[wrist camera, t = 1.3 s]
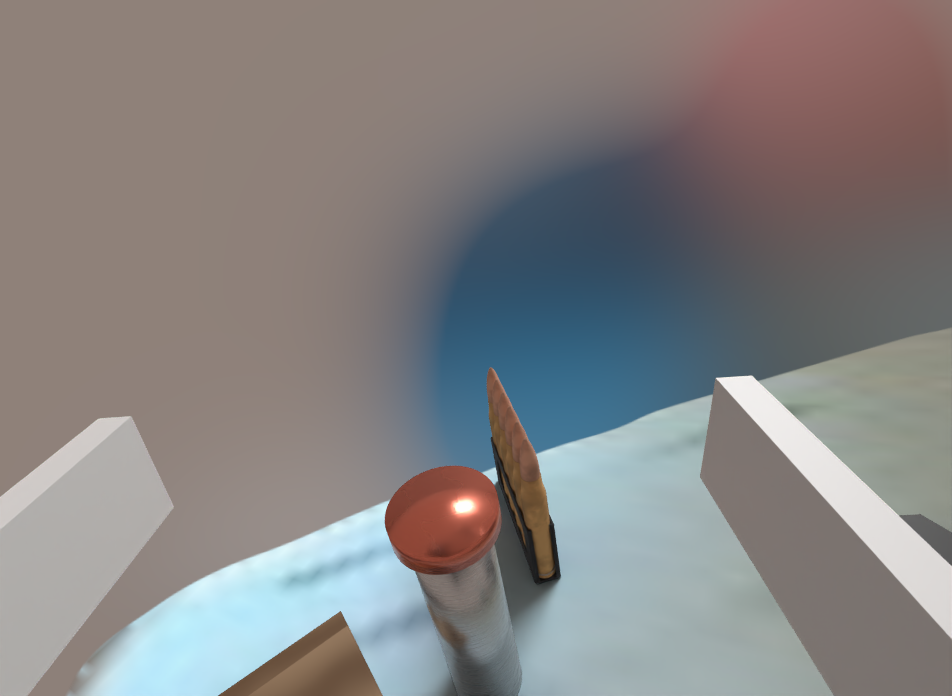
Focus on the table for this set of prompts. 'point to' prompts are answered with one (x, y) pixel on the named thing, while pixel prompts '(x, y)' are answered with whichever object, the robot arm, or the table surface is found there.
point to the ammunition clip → (522, 484)
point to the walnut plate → (313, 667)
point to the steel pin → (459, 573)
